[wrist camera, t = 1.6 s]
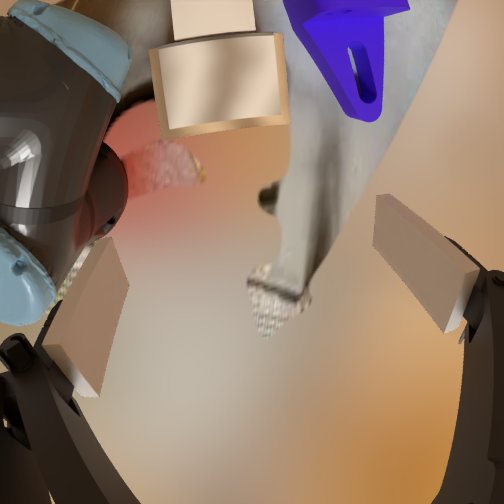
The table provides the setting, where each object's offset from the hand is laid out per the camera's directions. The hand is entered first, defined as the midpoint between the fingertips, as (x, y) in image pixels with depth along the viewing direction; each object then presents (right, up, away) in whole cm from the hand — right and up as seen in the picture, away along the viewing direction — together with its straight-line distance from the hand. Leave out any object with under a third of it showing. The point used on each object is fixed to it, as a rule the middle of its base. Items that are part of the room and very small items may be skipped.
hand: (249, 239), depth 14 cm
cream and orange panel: (-4, +22, +6) cm, 23 cm away
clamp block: (-4, +19, +19) cm, 27 cm away
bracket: (+12, +25, +18) cm, 33 cm away
